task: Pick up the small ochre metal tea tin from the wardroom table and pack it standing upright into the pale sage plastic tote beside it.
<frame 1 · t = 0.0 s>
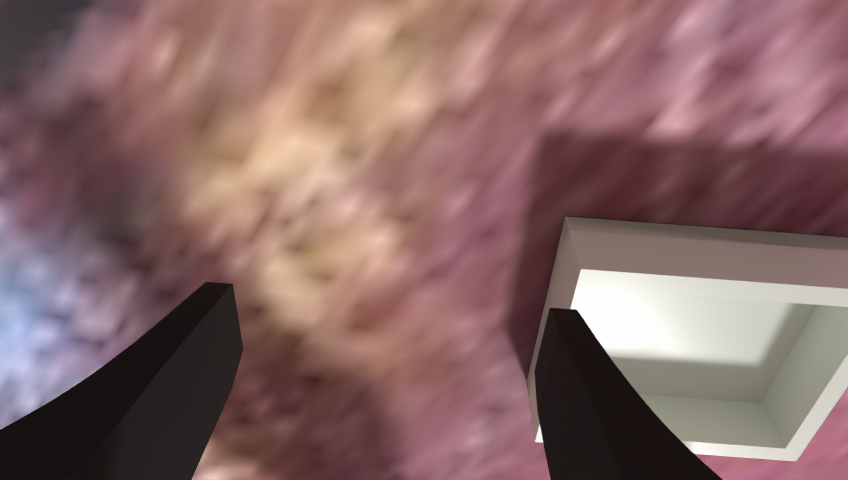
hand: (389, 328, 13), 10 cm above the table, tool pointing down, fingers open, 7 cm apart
tote: (673, 317, 26), on the table
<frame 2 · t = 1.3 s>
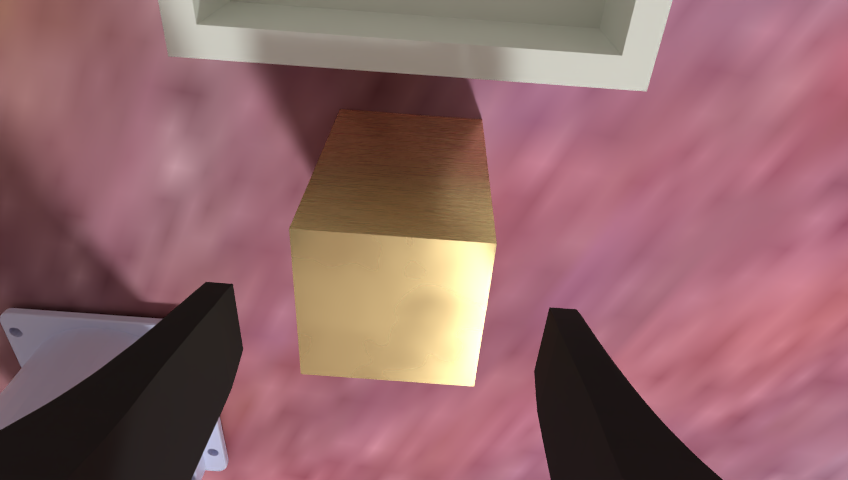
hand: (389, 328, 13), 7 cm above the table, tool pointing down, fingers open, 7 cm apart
tea tin: (407, 177, 20), on the table
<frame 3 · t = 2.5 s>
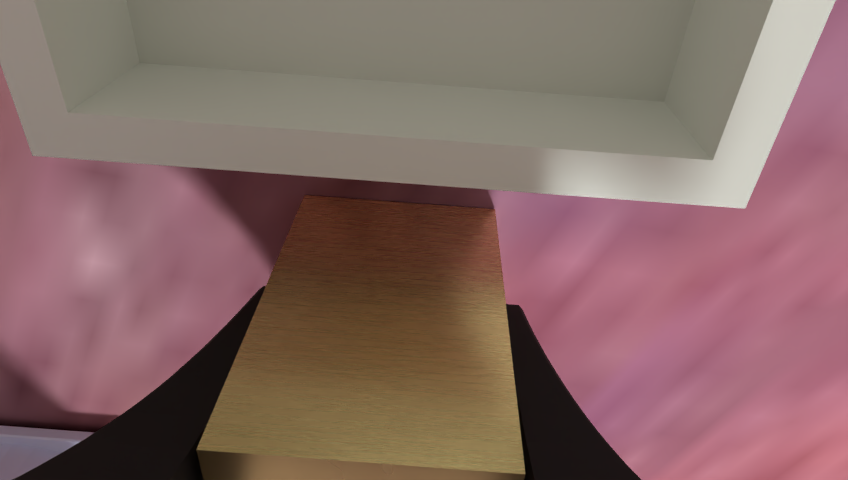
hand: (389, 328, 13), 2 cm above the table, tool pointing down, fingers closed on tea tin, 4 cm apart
tea tin: (396, 277, 15), on the table, touching gripper
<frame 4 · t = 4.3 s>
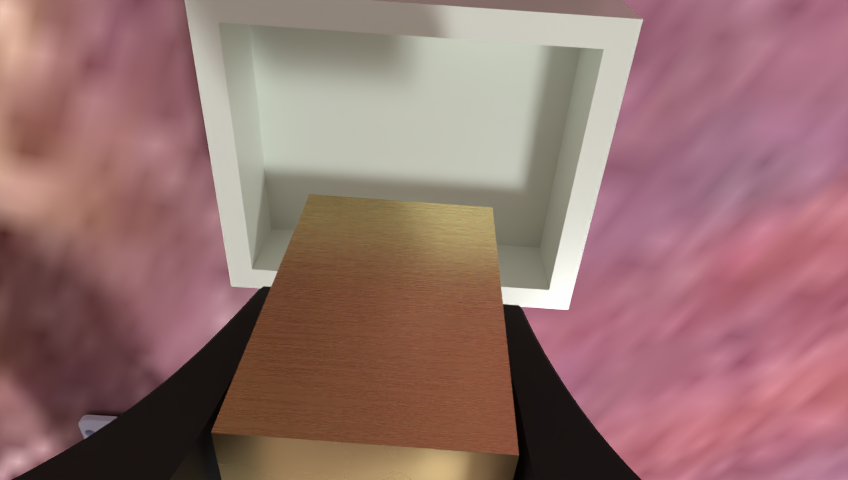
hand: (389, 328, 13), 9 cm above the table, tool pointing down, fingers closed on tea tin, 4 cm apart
tea tin: (397, 273, 16), point 7 cm above the table, touching gripper
tote: (411, 126, 20), on the table
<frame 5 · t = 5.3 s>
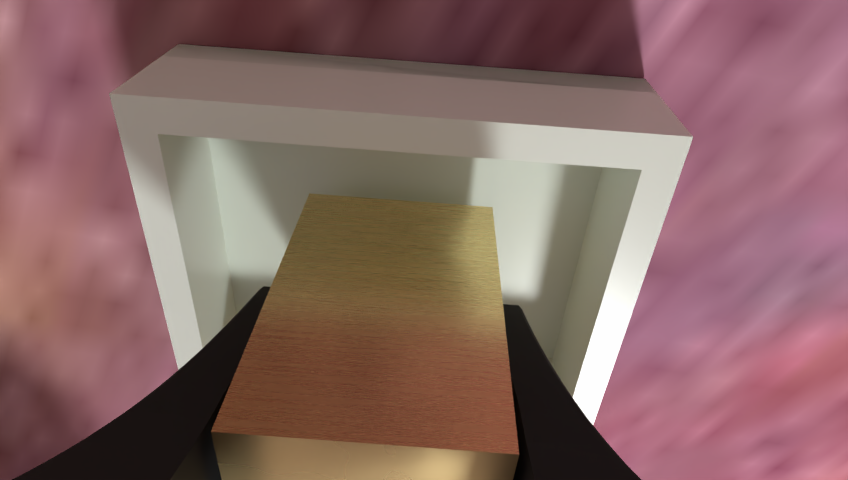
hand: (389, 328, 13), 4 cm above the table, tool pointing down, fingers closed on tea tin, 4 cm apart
tea tin: (397, 273, 16), point 2 cm above the table, touching gripper
tote: (403, 224, 17), on the table
when the fingers open (4 cm above the table, at t = 6.2 s): tea tin stays where it is, resting on tote.
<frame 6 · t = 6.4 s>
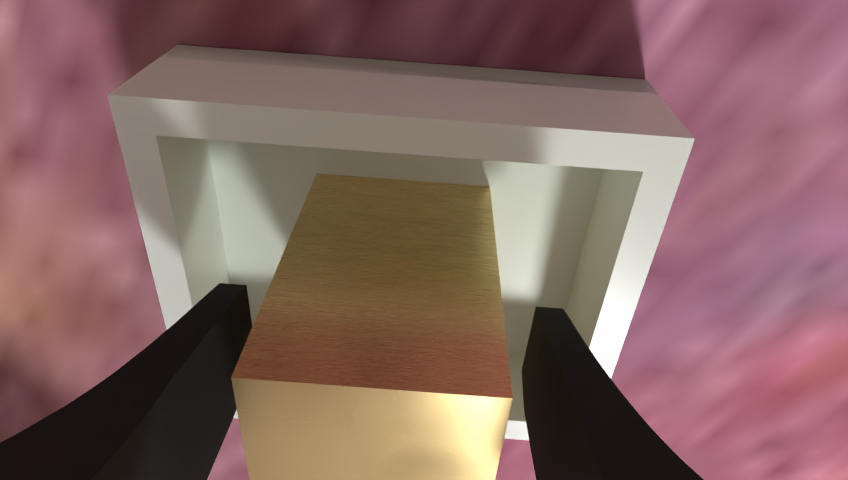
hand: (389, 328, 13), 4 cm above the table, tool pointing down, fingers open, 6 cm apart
tea tin: (399, 250, 16), point 1 cm above the table, touching tote
tote: (403, 225, 17), on the table
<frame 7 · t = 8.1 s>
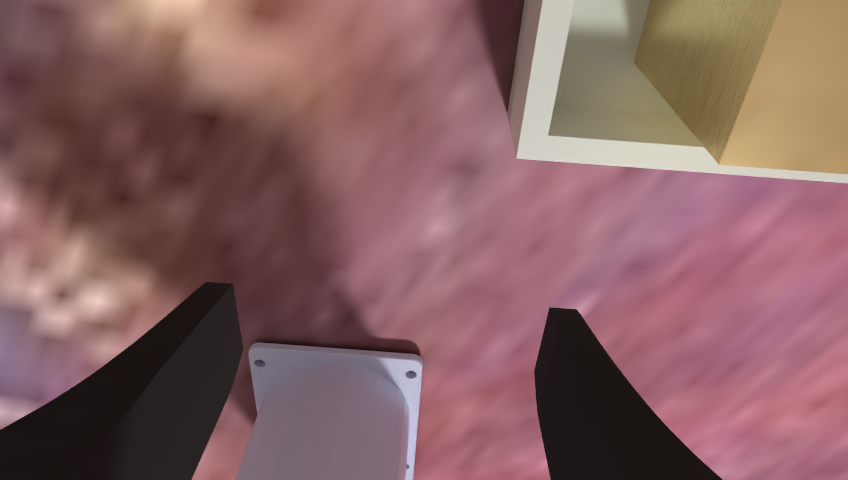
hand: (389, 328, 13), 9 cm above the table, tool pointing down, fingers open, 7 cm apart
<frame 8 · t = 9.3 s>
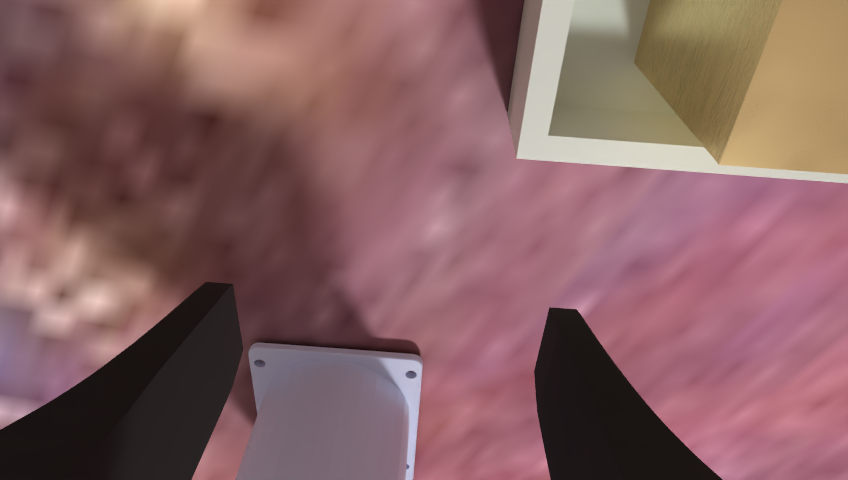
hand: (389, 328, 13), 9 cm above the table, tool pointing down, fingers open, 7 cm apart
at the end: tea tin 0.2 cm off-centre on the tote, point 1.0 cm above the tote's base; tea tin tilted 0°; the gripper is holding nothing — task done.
